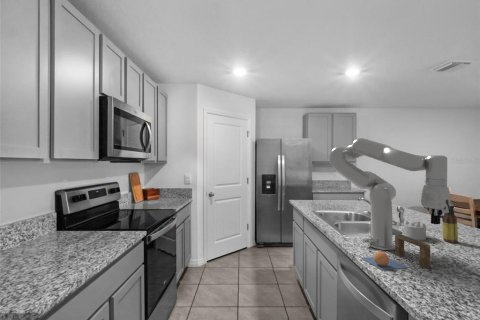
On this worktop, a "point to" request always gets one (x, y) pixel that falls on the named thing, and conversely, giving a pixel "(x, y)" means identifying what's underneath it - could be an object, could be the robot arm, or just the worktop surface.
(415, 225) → the lumpy-topped squat cylinder
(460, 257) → the worktop surface
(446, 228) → the sauce bottle
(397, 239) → the bridge
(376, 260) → the ball
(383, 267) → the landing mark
